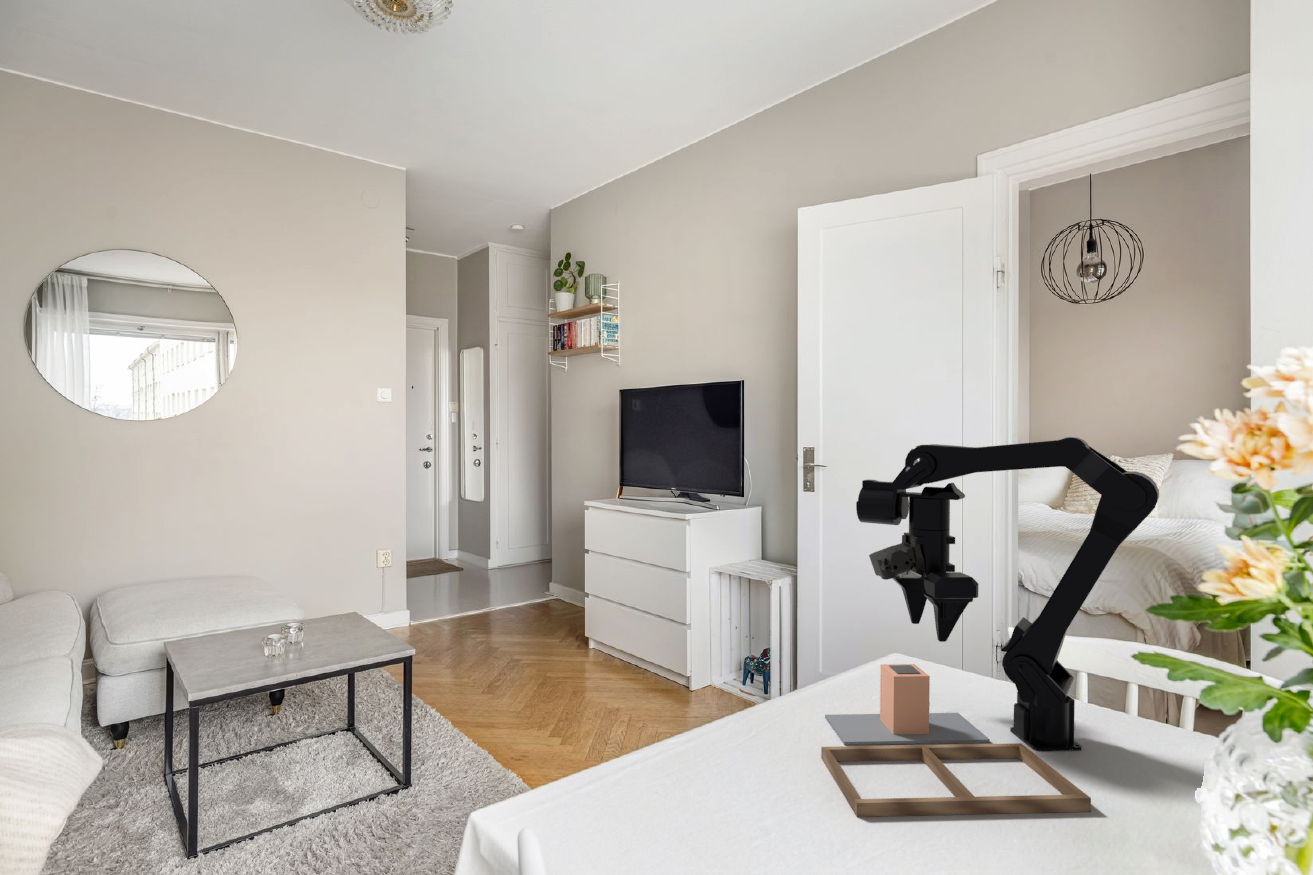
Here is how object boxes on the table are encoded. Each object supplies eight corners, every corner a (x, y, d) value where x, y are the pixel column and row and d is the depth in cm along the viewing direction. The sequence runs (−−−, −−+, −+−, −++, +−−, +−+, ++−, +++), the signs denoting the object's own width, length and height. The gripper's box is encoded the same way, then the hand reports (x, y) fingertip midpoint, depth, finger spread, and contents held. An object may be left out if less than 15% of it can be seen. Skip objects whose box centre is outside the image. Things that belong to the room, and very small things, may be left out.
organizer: (1021, 754, 92) (1021, 743, 92) (1090, 811, 78) (1090, 797, 78) (821, 758, 90) (821, 746, 90) (856, 816, 77) (856, 802, 77)
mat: (958, 715, 104) (958, 712, 104) (989, 742, 95) (989, 739, 95) (824, 717, 103) (824, 714, 103) (844, 744, 94) (844, 741, 94)
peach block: (914, 718, 102) (914, 662, 102) (929, 733, 97) (929, 674, 97) (880, 719, 102) (880, 663, 102) (893, 734, 97) (893, 675, 97)
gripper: (855, 520, 114) (854, 616, 114) (901, 537, 95) (900, 652, 96) (922, 520, 115) (921, 615, 115) (981, 537, 96) (979, 651, 96)
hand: (928, 631), depth 105 cm, fingers open, 9 cm apart
